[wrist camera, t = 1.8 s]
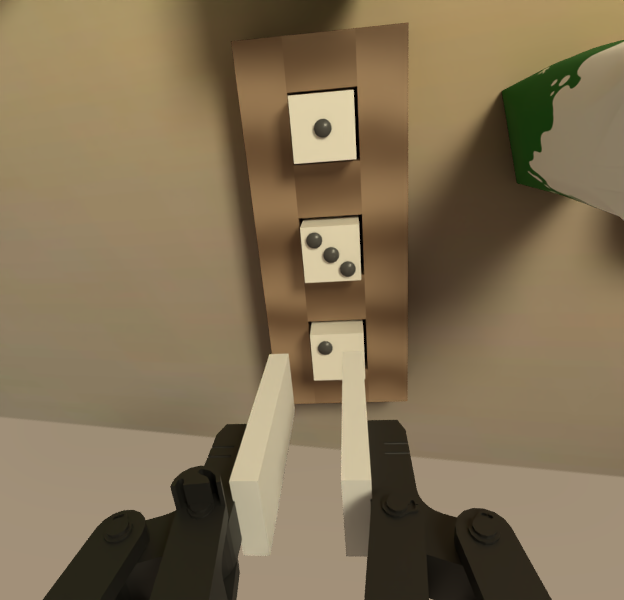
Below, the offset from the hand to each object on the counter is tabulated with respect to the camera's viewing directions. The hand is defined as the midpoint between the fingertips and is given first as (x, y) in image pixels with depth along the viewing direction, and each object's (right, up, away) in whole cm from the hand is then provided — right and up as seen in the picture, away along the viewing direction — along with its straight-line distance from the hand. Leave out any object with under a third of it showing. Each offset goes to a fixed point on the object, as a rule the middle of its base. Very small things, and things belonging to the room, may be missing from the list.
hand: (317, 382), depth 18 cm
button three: (+2, +8, +19) cm, 21 cm away
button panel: (+2, +9, +21) cm, 22 cm away
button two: (+2, 0, +23) cm, 23 cm away
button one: (+1, +16, +16) cm, 23 cm away
